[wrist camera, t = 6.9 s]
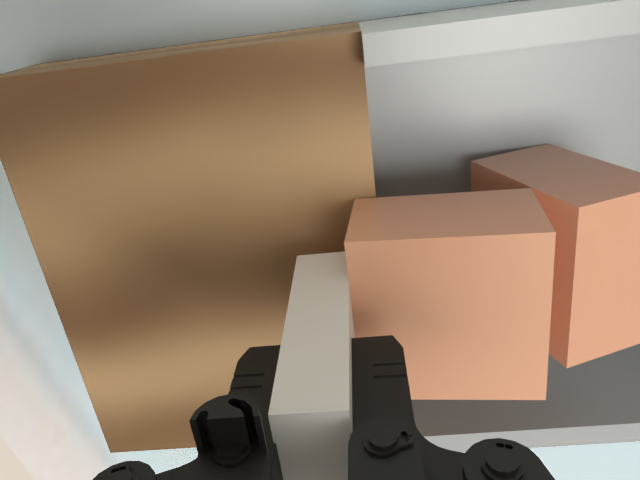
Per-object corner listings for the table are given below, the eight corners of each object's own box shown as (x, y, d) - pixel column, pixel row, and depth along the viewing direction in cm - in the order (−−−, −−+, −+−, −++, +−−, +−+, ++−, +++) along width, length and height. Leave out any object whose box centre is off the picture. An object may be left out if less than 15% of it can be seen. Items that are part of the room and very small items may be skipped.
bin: (358, 21, 18) (362, 34, 14) (780, -35, 17) (936, -41, 13) (389, 366, 24) (399, 455, 20) (707, 342, 23) (796, 431, 18)
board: (42, 62, 19) (-29, 81, 16) (358, 21, 18) (361, 31, 15) (144, 384, 25) (110, 452, 21) (389, 366, 24) (397, 434, 20)
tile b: (579, 207, 14) (674, 182, 15) (470, 160, 18) (547, 143, 19) (566, 368, 16) (650, 339, 17) (471, 291, 20) (541, 271, 21)
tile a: (354, 198, 17) (343, 242, 14) (531, 188, 16) (555, 232, 13) (368, 338, 19) (361, 399, 16) (525, 336, 18) (545, 400, 15)
